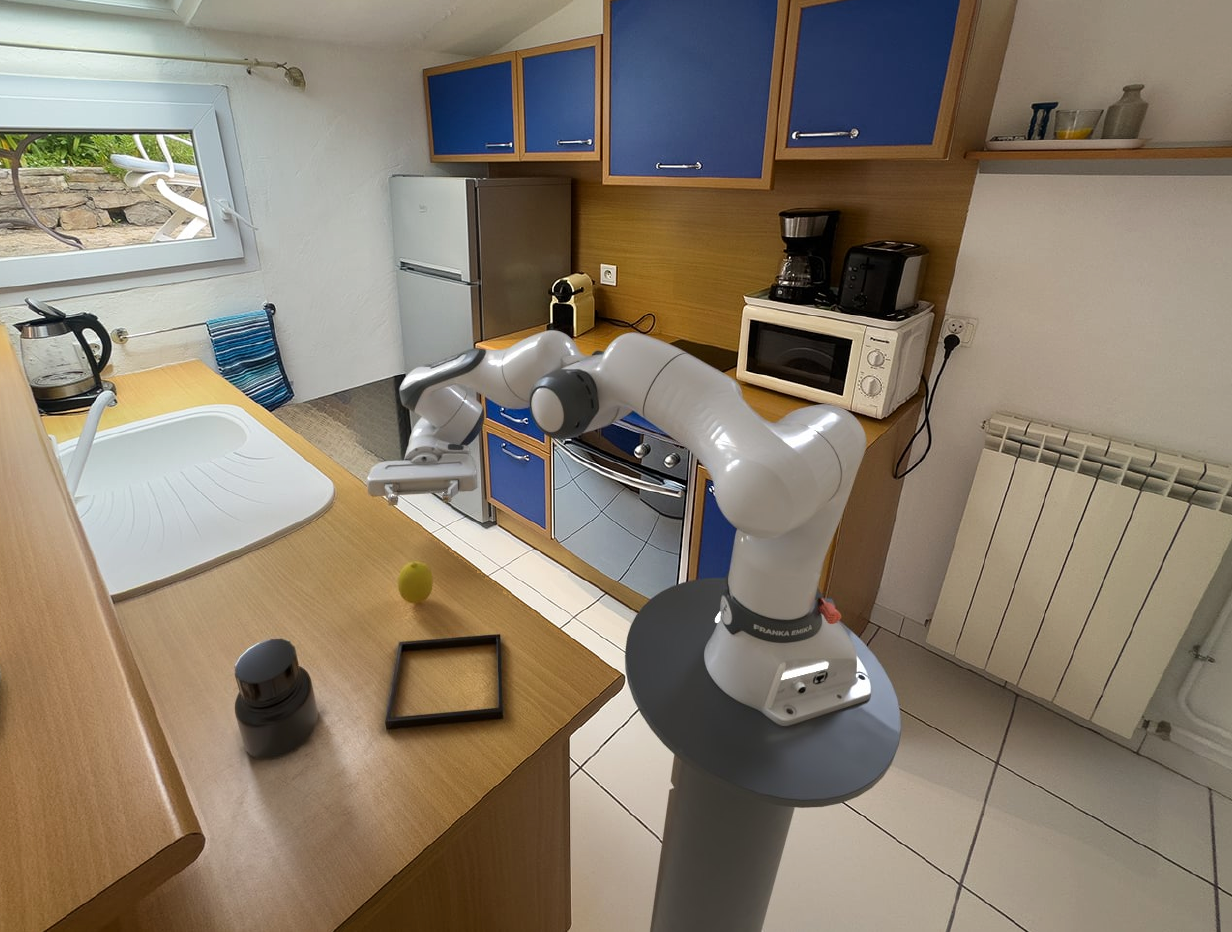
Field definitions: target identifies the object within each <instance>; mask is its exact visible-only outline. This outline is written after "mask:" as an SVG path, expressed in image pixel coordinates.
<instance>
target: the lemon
mask: <svg viewBox="0 0 1232 932" xmlns="http://www.w3.org/2000/svg"><path fill="white" fill-rule="evenodd" d="M397 579H398V580H397V589H398V592H399V594H400V596H401V598H402V599H403V600H404V601H405V602H406V603H409V604H413V605H417V604H421V603H423V602H425V601H426V600H427V599H428V598H429V596H430V595H431V593H432V591H433V587H434V586H433V585H434V580H433V576H432V572H431V570H430V568H429V567H428V565H427V564H425V563H424V562H421V561H411V562H409V563H406V564H405V565H404V566H403V567H402V568H401V570H400V572H399V575H398V578H397Z"/></svg>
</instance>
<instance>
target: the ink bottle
mask: <svg viewBox="0 0 1232 932" xmlns="http://www.w3.org/2000/svg"><path fill="white" fill-rule="evenodd" d="M298 659H299V658H298V655H297V649H296V646H295V645H293V643H292V642H291V641H290V640H287V639H283V638H269V639H267V640H263V641H259V642H258V643H256V644H254V645H253V646H251V647H249V648H247V650H245V651H244V652H243V654H241V655H240V656H239V657H238V660H237V661H236V663H235V665H234V678H235V681H236V683H237V688H238V693H237V696H236V698H235V700H234V701H235V703H234V714H235V718H236V721H237V725H238V729H239V732H240V736H241V739H242V742H243V746H244V749H245V750H246V752H247V753H248V754H249V755H250V756H251V757H253V758H255V759H259V760H272V759H277V758H281V757H285V756H286V755H289V754H291V753H292V752H294V751H297V750H298V749H299V748H300V747H302V746H303V745H304V744H305V743H306V742H307V741H308V740H309V739H310V737H311V736H312V734H313V732H314V731H315V729H316V726H317V723H318V719H319V714H318V705H317V701H316V696H315V692H314V687H313V682H312V678H311V675H310V674H309V672H308V671H307V670H306V669H305V668H304V667H302V666H301V665H300V664H299V660H298Z"/></svg>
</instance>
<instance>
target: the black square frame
mask: <svg viewBox="0 0 1232 932" xmlns="http://www.w3.org/2000/svg"><path fill="white" fill-rule="evenodd" d="M501 638H502V637H501V633H496V634H494V633H493V634H480V635H471V636H458V637H444V638H431V639H430V638H429V639H418V640H417V639H415V640H406V641H405V640H404V641H403V640H402V641H399V642H398V645H397V650H396V656H395V660H394V661H395V662H394V668H393V672H392V673H393V674H392V679H391V685H390V691H389V696H388V703H387V708H386V712H385V713H386V715H385V718H384V719H385V720H384V725H385V730H386V731H389V730H400V729H409V728H411V729H412V728H420V727H432V726H443V725H452V724H463V723H475V722H485V721H496V720H504V700H503V695H504V694H503V671H502V670H503V669H502V667H503V666H502V640H501ZM494 645H496V660H497V661H496V664H497V666H496V669H497V707H490V708H481V709H479V708H478V709H469V710H457V711H445V712H435V713H425V714H415V715H414V714H413V715H403V716H394V711H395V705H396V699H397V694H398V686H399V681H400V675H401V669H402V668H401V667H402V661H403V655H404V652H405V653H406V652H416V651H417V652H418V651H430V650H443V649H455V648H469V647H479V646H480V647H482V646H494Z"/></svg>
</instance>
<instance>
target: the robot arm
mask: <svg viewBox="0 0 1232 932" xmlns="http://www.w3.org/2000/svg"><path fill="white" fill-rule="evenodd" d="M460 386H464V387H466V388H468V389H470V390H472V391H474V392H476V393H478V394H479V395H481V396H483V397H484V398H486V399H488V400H489V401H491V402H492V403H494V404H496V405H498V406H500V407H502V408H505V409H509V410H523V409H528V408H529V411H530V415H531V418H532V420H533V422H534V424H535V425H536V427H537V428H538V430H540V432H542V434H544V435H545V436H547V437H549V438H550V439H554V440H567V439H572V438H573V439H574V438H576V437H579V436H581V435H582V434H585V433H588V432H592V431H595V430H598V429H601V428H605V427H608V426H611V425H612V424H615V423H616V422H618V421H620V420H622V419H623V418H625V417H627V416H631V415H633V414H634V413H636V414H637V415H639V416H640V417H641V418H643V419H644V420H646V421H647V422H649V424H651V425H653V426H654V427H656V428H658V429H659V430H660V431H662V432H663V433H665V434H666V435H667V436H669V437H670V438H672V439H673V440H675V441H676V442H678V443H679V444H680V445H682V446H683V447H684V448H685V449H687V450H688V451H689V452H690V453H691V454H692V455H693V456H694V457H695V458H696V459H697V460H698V461H699V462H700V464H701V465H702V466H703V467H704V469H705V470H706V472H707V473H708V474H709V476H710V478H711V480H712V483H713V491H714V497H715V501H716V504H717V506H718V508H719V510H720V512H721V513H722V515H723V517H724V518H725V519H726V520H727V521H728V522H729V523H730V524H731V525H732V526H733V527H734V528H735V529H736V531H735V535H734V541H733V546H732V553H731V559H730V565H729V570H728V572H727V573H726V575H725V577H724V578H725V582H724V586H723V592H722V598H721V605H720V612H719V614H718V615H717V617H716V620H715V622H718V623H717V626H716V628H715V630H714V633H713V634H712V636H711V638H710V639H709V641H708V643H707V644H706V647H705V651H704V661H705V665H706V668H707V670H708V672H709V674H710V676H711V677H712V679H713V680H714V682H715V683H716V684H717V685H718V686H719V687H720V688H721V689H722V690H723V691H724V692H725V693H726V694H728V695H729V696H731V697H732V698H734V699H735V700H737V701H739V702H741V703H743V704H745V705H747V706H750V707H752V708H755V709H757V710H759V711H761V712H762V713H763V714H765V715H766V716H767V717H768V718H770V719H771V720H772V721H774V722H775V723H777V724H779V725H781V726H789V725H792V724H795V723H799V722H802V721H805V720H808V719H811V718H814V717H817V716H820V715H823V714H827V713H830V712H833V711H836V710H839V709H842V708H845V707H848V706H851V705H854V704H858V703H861V702H864V701H867V700H869V699H870V698H871V683H870V679H869V676H868V674H867V672H866V670H865V668H864V666H863V664H862V663H861V661H860V659H859V658H858V656H857V655H856V651H855V648H854V645H853V643H852V641H851V639H850V637H849V635H848V634H847V632H846V631H845V629H844V628H843V627H842V625H841V624H840V623H839V622H838V621H840V622H841V619H842V614H841V612H840V611H839V610H837V609H838V607H837V605H836V604H835V602H834V600H833V598H831V597H830V598H829V597H828V598H827V597H824V594H823V592H821V590H820V589H819V584H820V581H821V576H822V572H823V568H824V563H825V561H826V556H827V553H828V552H829V548H830V547H831V546H830V545H831V544H832V541H833V538H834V537H835V534H836V531H837V529H838V526H839V523H840V521H841V519H842V516H843V513H844V511H845V509H846V506H847V503H848V500H849V498H850V494H851V493H852V489H853V486H854V483H855V480H856V478H857V474H858V471H859V469H860V466H861V464H862V461H863V459H864V456H865V453H866V450H867V436H866V432H865V430H864V427H863V425H862V424H861V422H860V421H859V419H857V417H856V416H854V415H853V414H852V413H851V412H849V411H848V410H846V409H845V408H842V407H840V406H837V405H834V404H827V403H824V404H823V403H821V404H816V405H810V406H805V407H800V408H797V409H795V410H793V411H791V412H789V413H788V414H786V415H784V416H783V417H782V418H780V419H778V420H777V421H776V422H773V421H769V420H767V419H766V418H764V417H762V415H760V414H759V413H758V412H757V411H756V410H754V408H752V407H751V406H750V404H749V403H748V402H747V401H746V400H745V399H744V397H743V396H744V395H743V390H742V387H741V385H740V383H738V381H736V380H735V379H734V378H733V377H732V376H729V375H728V374H726V373H724V372H722V371H720V370H719V369H717V368H716V367H713V366H712V365H710V364H708V363H706V362H704V361H702V360H701V359H700V358H697V357H696V356H694V355H692V354H690V353H688V352H687V351H684V350H683V349H681V348H679V347H677V346H675V345H672V344H670V343H669V342H665V341H663V340H660V339H658V338H655V337H653V336H650V335H646V334H643V333H639V332H627V333H626V332H625V333H623V334H621V335H619V336H617V337H616V338H614V339H613V340H612V341H611V342H610V344H608V346H607V347H606V348H605V350H595V351H593V352H592V353H591V355H587V354H583V353H581V351H580V350H579V348H578V346H577V344H576V343H575V341H574V340H573V339H572V338H571V337H570V336H569V335H568V334H567V333H564V332H562V331H559V330H553V329H549V330H545V331H541V332H538V333H536V334H533V335H530V336H528V337H526V338H524V339H522V340H520V341H517V342H516V343H515V344H512V346H510V347H507V348H502V349H485V348H481V347H472V348H470V349H467V350H464V351H461V352H459V353H456V354H454V355H450V356H449V357H445V358H444V359H441V360H438V361H436V362H433V363H427V364H422V365H418V366H417V367H415V368H414V369H413V370H411V371H410V372H408V373H407V375H406V376H405V377H404V379H403V380H402V382H401V384H400V385H399V388H398V391H399V399H400V402H401V405H402V407H404V408H405V409H408V411H409V410H410V411H411V412H412V413H416V415H418V416H419V417H420V418H419V419H418V420H417V422H416V423H415V425H414V426H413V429H412V431H411V433H410V436H409V439H408V445H407V448H406V451H405V455H404V459H402V460H388V461H387V460H385V461H381V462H377V464H375V465H373V466H372V467H371V469H370V472H369V474H368V475H367V477H366V488H367V493H368V495H370V496H371V497H372V498H373V497H385V498H386V499H387V503H388V506H398V504H399V496H407V495H427V494H442V502H443V503H452V498H454V497H455V496H456V495H458V494H459V493H462V492H463V493H464V492H473V491H475V490H477V488H478V487H479V486H478V469H477V464H476V460H475V459H474V456H472V453H471V448H470V446H469V445H470V444H471V443H473V442H474V440H475V439H476V438H477V437H478V435H479V434H480V433H481V431H482V429H483V426H484V423H485V408H484V405H483V404H481V402H479V401H478V400H477V399H476V398H474V397H473V396H472V395H471V394H469V393H468V392H467V391H465V390H464V389H462V387H460ZM861 679H862V680H861ZM787 712H789V713H791V714H789V713H787Z"/></svg>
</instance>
